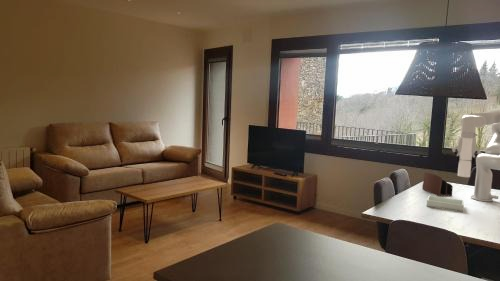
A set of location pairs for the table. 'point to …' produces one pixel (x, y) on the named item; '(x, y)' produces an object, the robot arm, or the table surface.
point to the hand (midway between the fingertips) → (465, 162)
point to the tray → (445, 203)
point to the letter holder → (436, 185)
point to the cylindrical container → (465, 158)
